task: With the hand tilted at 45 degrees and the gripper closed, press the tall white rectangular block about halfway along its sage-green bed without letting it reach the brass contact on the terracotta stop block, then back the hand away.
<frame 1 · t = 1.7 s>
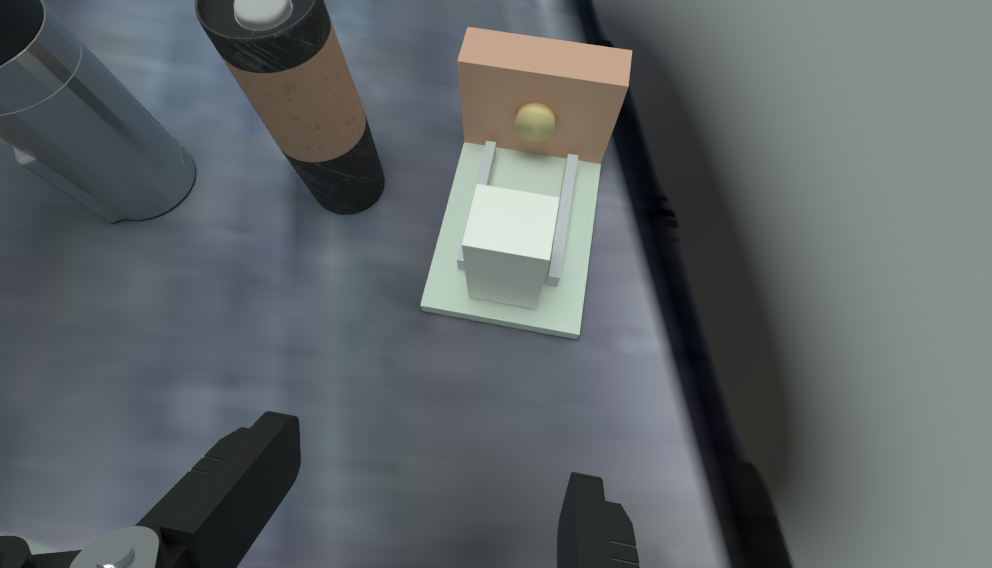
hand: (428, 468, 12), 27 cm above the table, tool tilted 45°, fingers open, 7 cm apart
travel mug: (350, 185, 47), on the table
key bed: (515, 237, 45), on the table
white rectangular block: (509, 252, 36), point 7 cm above the table, slide at 0.0 cm
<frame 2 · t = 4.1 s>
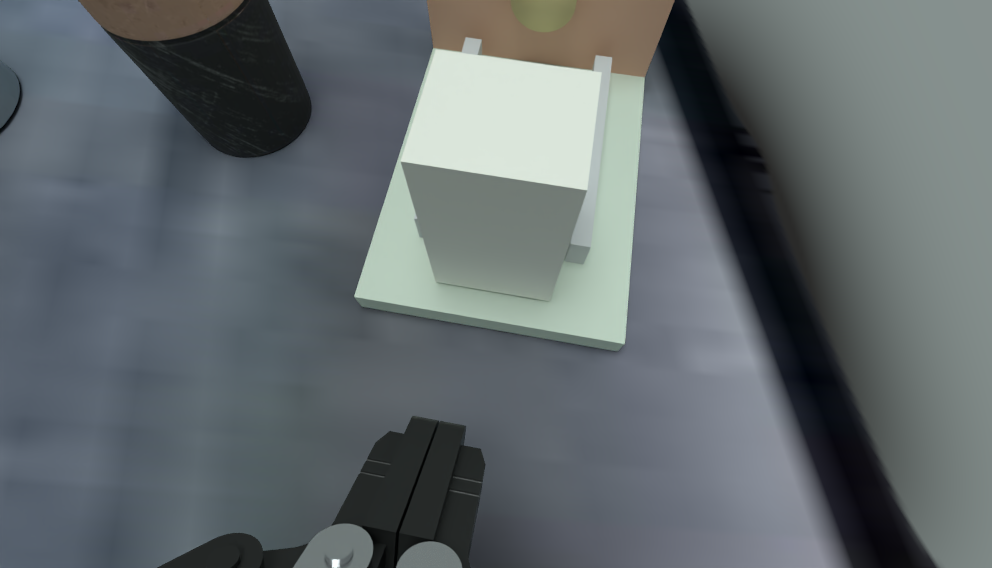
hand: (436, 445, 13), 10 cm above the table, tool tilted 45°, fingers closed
travel mug: (258, 115, 30), on the table
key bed: (514, 189, 28), on the table
white rectangular block: (502, 197, 20), point 7 cm above the table, slide at 0.0 cm
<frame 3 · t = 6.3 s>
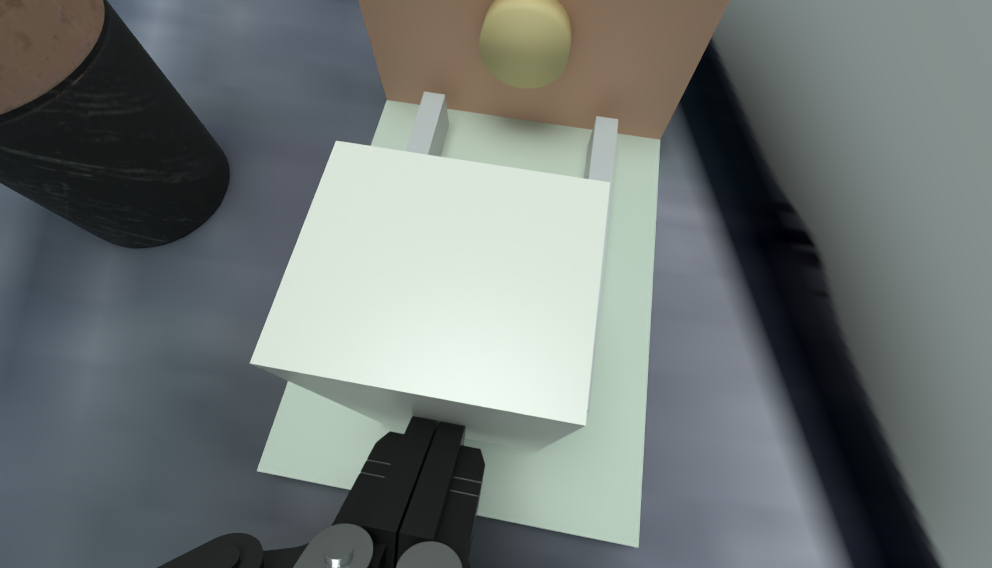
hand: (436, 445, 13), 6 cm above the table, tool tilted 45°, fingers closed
travel mug: (161, 188, 24), on the table
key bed: (488, 293, 21), on the table
white rectangular block: (461, 336, 14), point 7 cm above the table, slide at 1.0 cm, touching gripper
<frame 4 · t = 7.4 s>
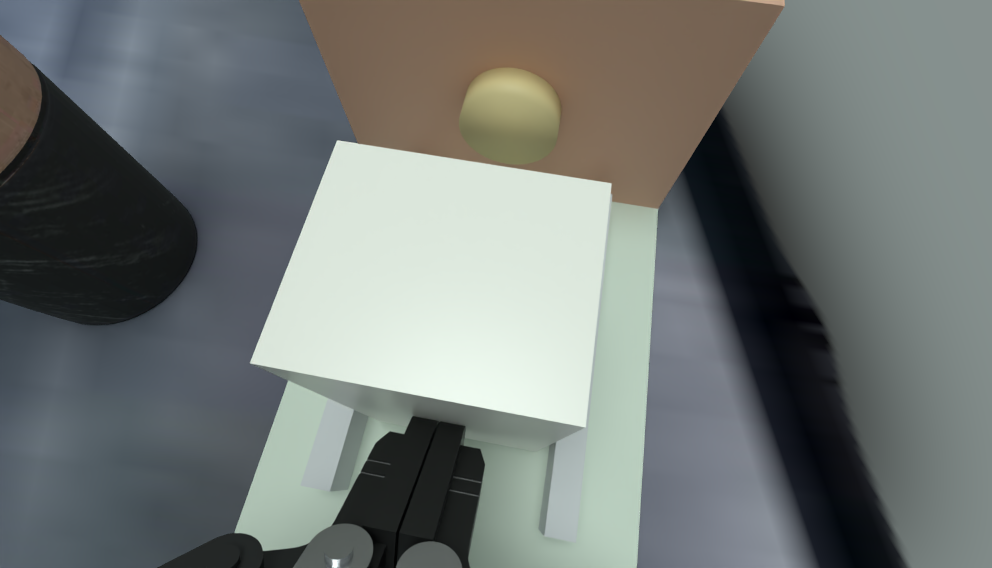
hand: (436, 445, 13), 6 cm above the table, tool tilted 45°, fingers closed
travel mug: (124, 256, 22), on the table
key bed: (471, 379, 20), on the table
white rectangular block: (462, 336, 14), point 7 cm above the table, slide at 5.0 cm, touching gripper
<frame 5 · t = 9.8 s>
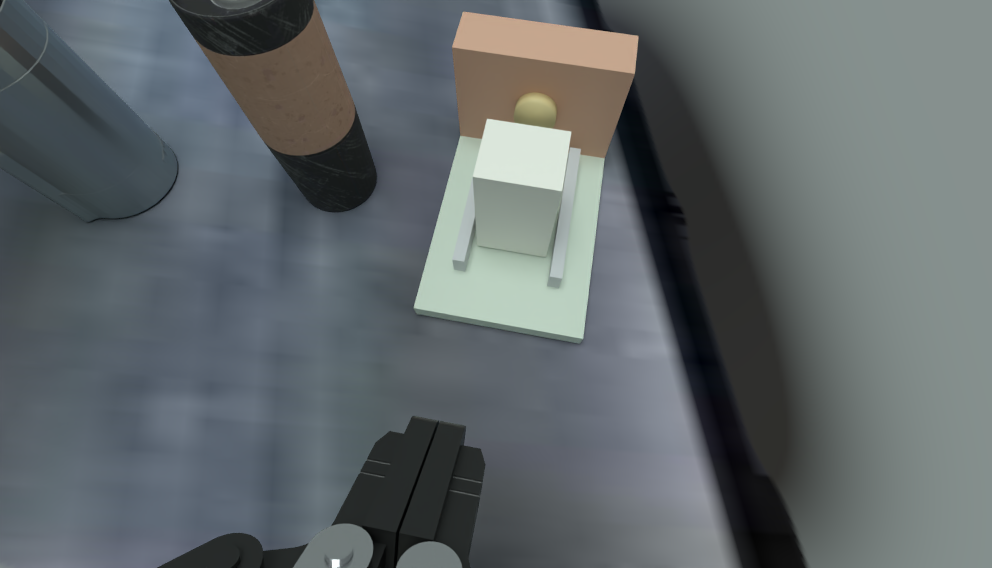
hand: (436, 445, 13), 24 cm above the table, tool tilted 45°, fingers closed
travel mug: (340, 181, 45), on the table
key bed: (515, 235, 42), on the table
white rectangular block: (519, 194, 36), point 7 cm above the table, slide at 5.0 cm
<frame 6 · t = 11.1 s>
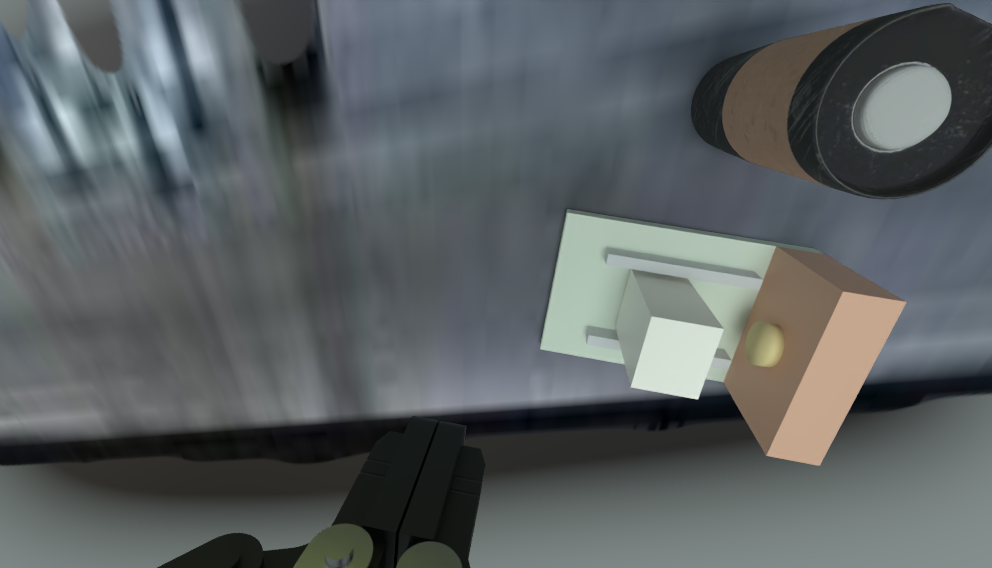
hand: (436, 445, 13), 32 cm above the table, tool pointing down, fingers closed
travel mug: (736, 103, 37), on the table
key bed: (646, 295, 44), on the table
white rectangular block: (661, 327, 38), point 7 cm above the table, slide at 5.0 cm
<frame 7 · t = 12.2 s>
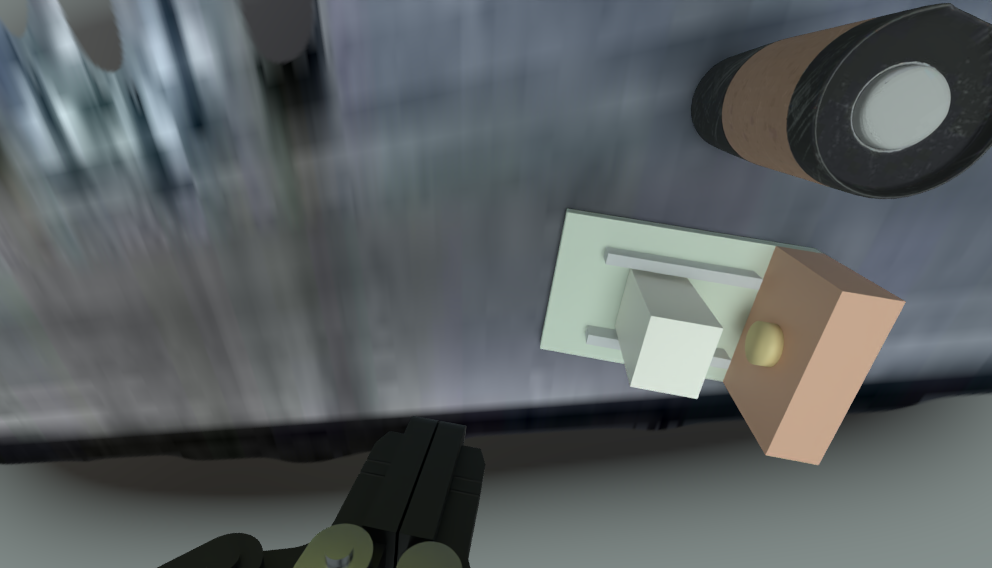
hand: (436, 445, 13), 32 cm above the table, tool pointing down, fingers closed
travel mug: (736, 103, 37), on the table
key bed: (646, 294, 44), on the table
white rectangular block: (660, 326, 38), point 7 cm above the table, slide at 5.0 cm
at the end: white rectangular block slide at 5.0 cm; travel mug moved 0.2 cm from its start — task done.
